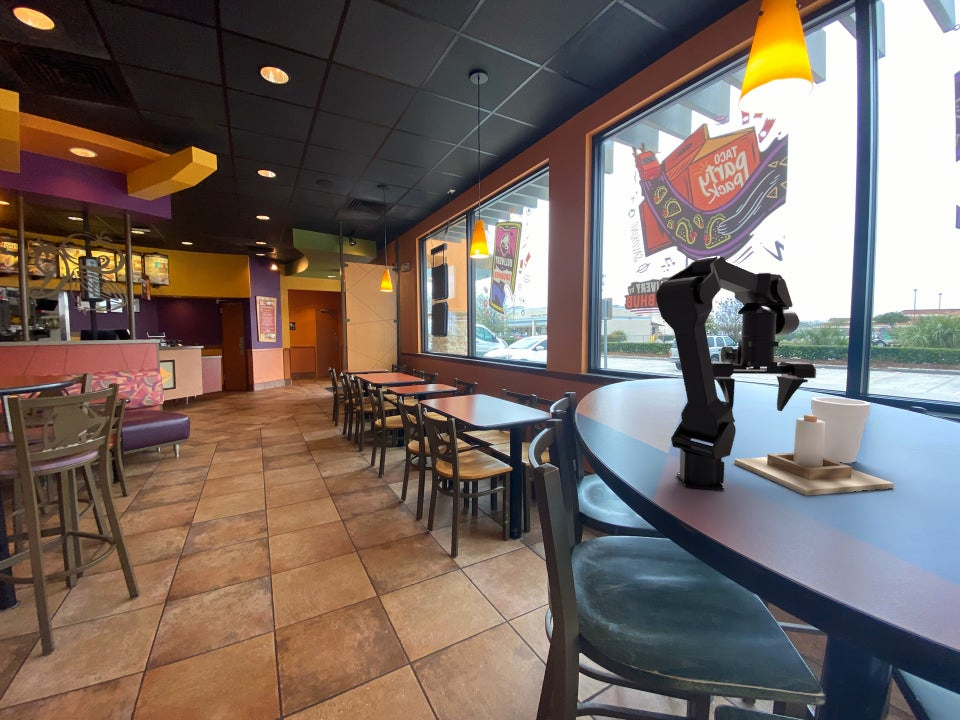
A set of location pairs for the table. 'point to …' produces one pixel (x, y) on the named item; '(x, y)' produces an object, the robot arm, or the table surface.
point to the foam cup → (841, 426)
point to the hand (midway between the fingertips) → (754, 410)
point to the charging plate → (812, 475)
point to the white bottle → (809, 441)
